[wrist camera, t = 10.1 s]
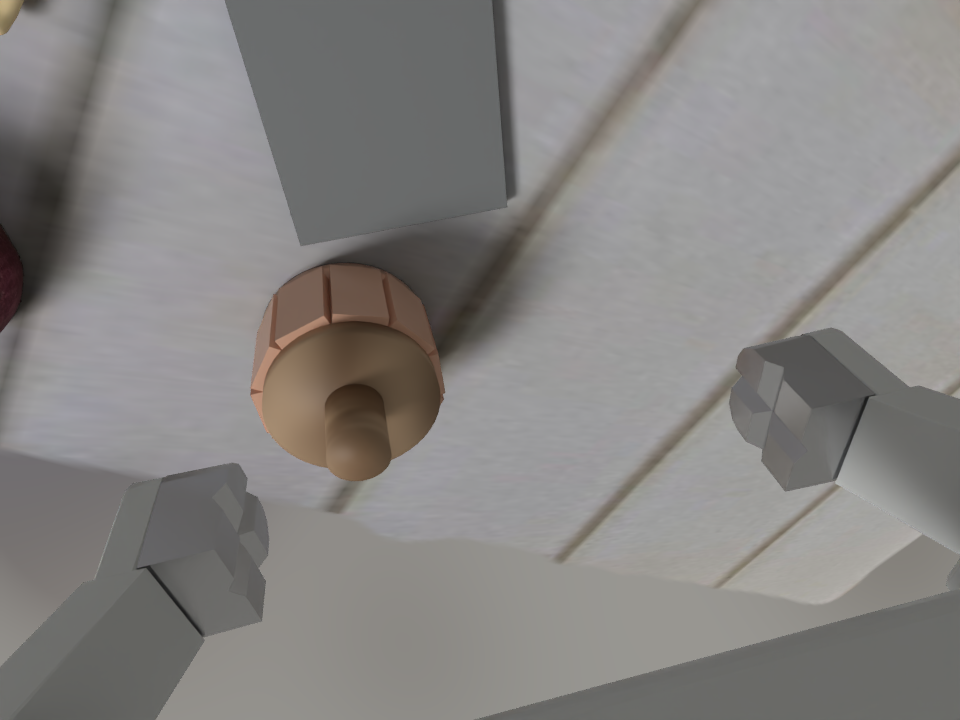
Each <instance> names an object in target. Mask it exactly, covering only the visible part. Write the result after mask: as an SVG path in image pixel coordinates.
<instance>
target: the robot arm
mask: <svg viewBox="0 0 960 720" xmlns="http://www.w3.org/2000/svg"><path fill="white" fill-rule="evenodd" d="M736 369H737V370H738V371H739V373H740V374H741V375H742V377H741V378H740V379H739V380H738V381H737V383H736V384H735V385H734V386H733V387H732V389H731V395H730V402H729V405H730V410H731V415H732V419H733V421H734V424H735V426H736V428H737V430H738V431H739V433H740V434H741V435H742V437H743V438H744V439H745V441H746V442H748V443H750V444H753V445H755V446H757V447H759V448H761V449H762V459H761V461H762V463H763V464H764V465H765V466H766V468H767V469H768V470H769V471H770V473H771V474H772V475H773V477H774V478H775V479H776V480H777V482H778V483H779V484H780V485H781V487H782V488H783V489H784V491H785V492H786V491H790V490H795V489H800V488H804V487H809V486H813V485H818V484H822V483H827V482H832V481H836V482H835V483H836V484H837V485H839V486H841V487H843V488H844V489H846V490H848V491H849V492H851V493H853V494H855V495H856V496H858V497H860V498H862V499H863V500H865V501H867V502H869V503H870V504H872V505H874V506H875V507H877V508H879V509H881V510H882V511H884V512H886V513H888V514H889V515H891V516H893V517H895V518H896V519H898V520H900V521H901V522H903V523H905V524H907V525H908V526H910V527H912V528H914V529H915V530H917V531H919V532H921V533H922V534H924V535H926V536H928V537H929V538H931V539H933V540H934V541H936V542H938V543H940V544H941V545H943V546H945V547H947V548H948V549H950V550H952V551H954V552H955V553H957V554H959V555H960V399H958V398H955V397H952V396H949V395H946V394H943V393H940V392H937V391H934V390H931V389H928V388H925V387H922V386H914V387H909V386H907V385H906V384H905V383H904V382H903V381H901V380H900V379H899V378H898V377H897V376H895V375H894V374H893V373H892V372H890V371H889V370H888V369H887V368H886V367H884V366H883V365H882V364H881V363H880V362H878V361H877V360H876V359H875V358H874V357H872V356H871V355H870V354H869V353H867V352H866V351H865V350H864V349H863V348H861V347H860V346H859V345H858V344H857V343H855V342H854V341H853V340H852V339H851V338H849V337H848V336H847V335H846V334H844V333H843V332H842V331H840V330H838V329H834V328H827V329H823V330H819V331H814V332H810V333H806V334H802V335H801V336H794V337H790V338H786V339H781V340H777V341H773V342H769V343H764V344H760V345H756V346H751V347H747V348H744V349H743V350H742V351H741V353H740V354H739V355H738V359H737V364H736ZM246 486H247V477H246V475H245V473H244V472H243V470H242V468H241V467H240V465H239V464H237V463H229V464H223V465H218V466H213V467H208V468H203V469H198V470H193V471H188V472H183V473H178V474H173V475H168V476H166V477H163V478H158V479H152V480H147V481H142V482H137V483H132V485H130V486H129V487H128V488H127V489H126V490H125V492H124V494H123V497H122V500H121V503H120V506H119V509H118V512H117V515H116V518H115V520H114V524H113V526H112V529H111V532H110V535H109V538H108V541H107V544H106V547H105V550H104V552H103V555H102V558H101V561H100V564H99V567H98V570H97V572H96V576H95V578H94V580H92V581H87V582H83V583H82V584H81V585H80V586H79V587H78V588H77V589H76V590H75V591H74V592H73V593H72V594H71V595H70V596H69V597H68V599H66V600H65V601H64V602H63V604H61V606H60V607H59V608H58V609H57V610H56V611H55V612H54V613H53V614H52V615H51V616H50V617H49V618H48V619H47V620H46V621H45V622H44V623H43V624H42V625H41V626H40V627H39V628H38V629H37V630H36V631H35V632H34V633H33V634H32V635H31V636H30V637H29V638H28V639H27V640H26V641H25V642H24V643H23V644H22V645H21V646H20V647H19V648H18V649H17V650H16V651H15V652H14V653H13V654H12V656H10V658H8V660H7V661H6V662H5V663H4V664H3V665H2V666H1V667H0V720H155V719H156V718H157V716H158V715H159V713H160V711H161V710H162V708H163V706H164V705H165V703H166V702H167V700H168V699H169V697H170V695H171V694H172V692H173V691H174V689H175V687H176V686H177V684H178V683H179V681H180V679H181V678H182V676H183V675H184V673H185V671H186V670H187V668H188V666H189V665H190V663H191V662H192V660H193V658H194V657H195V655H196V654H197V652H198V650H199V649H200V647H201V646H202V644H203V642H204V638H203V637H206V636H210V635H214V634H217V633H221V632H225V631H228V630H232V629H235V628H239V627H243V626H246V625H250V624H254V623H257V622H261V621H262V615H263V605H264V594H265V584H266V581H265V579H264V577H263V575H262V574H261V572H260V570H259V569H258V568H259V567H260V565H261V564H262V563H263V561H264V560H265V559H266V557H267V556H268V548H269V534H268V526H267V519H266V516H265V512H264V510H263V507H262V505H261V503H260V501H259V499H258V497H256V496H254V495H252V494H250V493H248V492H246ZM946 586H947V587H948V588H949V590H950V591H949V592H945V593H941V594H938V595H934V596H930V597H927V598H923V599H919V600H915V601H912V602H908V603H905V604H901V605H897V606H893V607H890V608H886V609H882V610H878V611H875V612H871V613H867V614H863V615H860V616H856V617H852V618H849V619H845V620H841V621H838V622H834V623H830V624H826V625H823V626H819V627H815V628H812V629H808V630H804V631H801V632H797V633H793V634H790V635H786V636H782V637H778V638H775V639H771V640H768V641H764V642H760V643H756V644H753V645H749V646H745V647H741V648H738V649H734V650H730V651H726V652H723V653H719V654H715V655H712V656H708V657H704V658H700V659H697V660H693V661H690V662H686V663H682V664H678V665H675V666H671V667H667V668H663V669H660V670H656V671H653V672H649V673H645V674H641V675H638V676H634V677H630V678H627V679H623V680H619V681H616V682H612V683H608V684H604V685H601V686H597V687H593V688H590V689H586V690H582V691H578V692H575V693H572V694H568V695H564V696H560V697H556V698H553V699H549V700H546V701H542V702H538V703H535V704H531V705H527V706H523V707H519V708H516V709H512V710H508V711H505V712H501V713H497V714H493V715H490V716H486V717H482V718H479V719H475V720H960V559H959V560H958V562H957V563H956V565H955V566H954V568H953V569H952V571H951V572H950V574H949V575H948V577H947V583H946Z"/></svg>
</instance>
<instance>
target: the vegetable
mask: <svg viewBox="0 0 960 720" xmlns="http://www.w3.org/2000/svg"><path fill="white" fill-rule="evenodd" d="M23 276H24V275H23V266H22V263H21V261H20V256H19V255H18V253H17V251H16V249H15V248H14V246H13V245H12V243H11V241H10V239H9V237H8V236H7V234H6V233H5V231H4V230H3V228H2V226H1V225H0V332H1V331H2V330H3V329H4V328H5V326H6V325H7V324H8V323H9V321H10V320H11V318H12V317H13V315H14V314H15V312H16V310H17V308H18V305H19V303H20V302H21V295H22V288H23Z"/></svg>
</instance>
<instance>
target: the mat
mask: <svg viewBox="0 0 960 720" xmlns="http://www.w3.org/2000/svg"><path fill="white" fill-rule="evenodd" d="M225 3H226V6H227V9H228V12H229V16H230V19H231V22H232V25H233V29H234V32H235V35H236V38H237V42H238V45H239V48H240V51H241V54H242V58H243V61H244V64H245V67H246V71H247V74H248V77H249V80H250V84H251V87H252V90H253V93H254V97H255V100H256V103H257V106H258V109H259V113H260V116H261V119H262V122H263V126H264V129H265V132H266V135H267V139H268V142H269V145H270V148H271V151H272V155H273V158H274V161H275V164H276V168H277V171H278V174H279V177H280V181H281V184H282V187H283V190H284V193H285V197H286V200H287V203H288V206H289V210H290V213H291V216H292V219H293V223H294V226H295V229H296V232H297V236H298V239H299V242H300V245H301V246H304V245H309V244H315V243H320V242H325V241H331V240H336V239H341V238H347V237H352V236H357V235H362V234H368V233H373V232H378V231H384V230H389V229H394V228H400V227H405V226H410V225H415V224H421V223H426V222H431V221H437V220H442V219H447V218H453V217H458V216H463V215H468V214H474V213H479V212H484V211H490V210H495V209H500V208H506V207H507V197H506V183H505V170H504V156H503V143H502V129H501V116H500V102H499V88H498V75H497V61H496V48H495V34H494V21H493V7H492V0H225Z"/></svg>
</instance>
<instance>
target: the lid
mask: <svg viewBox="0 0 960 720" xmlns="http://www.w3.org/2000/svg"><path fill="white" fill-rule="evenodd" d="M440 399H441V394H440V386H439V383H438V379H437V376H436V372H435V368H434V366H433V363H432V361H431V359H430V357H429V356H428V354H427V353H426V351H425V350H424V349H423V348H422V347H421V346H420V345H419V344H418V343H417V342H416V341H415V340H413V339H412V338H411V337H409V336H408V335H406V334H404V333H403V332H401V331H398V330H396V329H394V328H392V327H388V326H385V325H382V324H377V323H372V322H362V321H348V322H339V323H332V324H328V325H325V326H321V327H318V328H316V329H313V330H310V331H308V332H306V333H304V334H302V335H301V336H299V337H297V338H296V339H294V340H293V341H292V342H290V343H289V344H288V345H287V346H286V347H284V348H283V349H282V350H281V351H280V352H279V354H278V355H277V356H276V357H275V359H274V360H273V362H272V363H271V365H270V367H269V369H268V372H267V374H266V377H265V381H264V387H263V397H262V413H263V419H264V422H265V424H266V427H267V429H268V431H269V433H270V434H271V436H272V437H273V438H274V440H275V441H276V442H277V443H278V444H279V445H280V446H281V447H282V448H283V449H284V450H286V451H287V452H288V453H290V454H291V455H293V456H295V457H296V458H298V459H300V460H302V461H305V462H307V463H310V464H313V465H317V466H321V467H326V468H328V469H329V470H330V471H331V472H332V473H333V474H334V475H335V476H337V477H339V478H341V479H344V480H349V481H363V480H367V479H371V478H373V477H375V476H377V475H379V474H381V473H382V472H383V471H384V470H385V469H386V468H387V467H388V465H389V464H390V461H391V460H392V459H394V458H396V457H398V456H400V455H402V454H404V453H405V452H407V451H408V450H410V449H411V448H413V447H414V446H415V445H416V444H418V443H419V442H420V441H421V440H422V439H423V438H424V437H425V435H426V434H427V433H428V431H429V430H430V429H431V427H432V425H433V424H434V422H435V420H436V417H437V415H438V412H439V407H440Z"/></svg>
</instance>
